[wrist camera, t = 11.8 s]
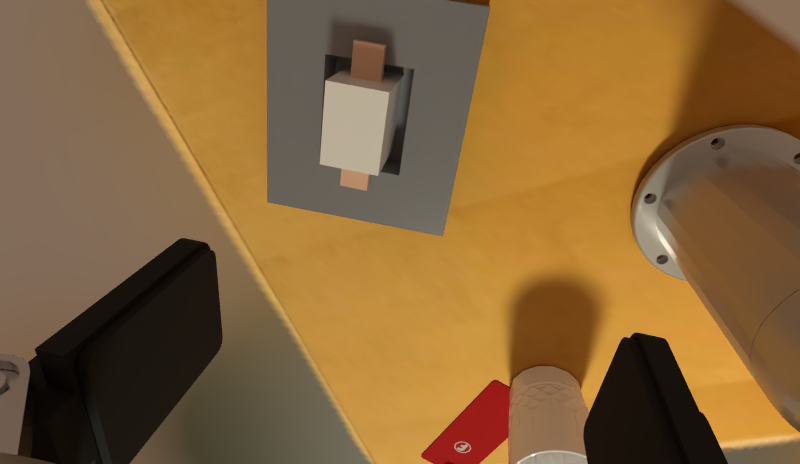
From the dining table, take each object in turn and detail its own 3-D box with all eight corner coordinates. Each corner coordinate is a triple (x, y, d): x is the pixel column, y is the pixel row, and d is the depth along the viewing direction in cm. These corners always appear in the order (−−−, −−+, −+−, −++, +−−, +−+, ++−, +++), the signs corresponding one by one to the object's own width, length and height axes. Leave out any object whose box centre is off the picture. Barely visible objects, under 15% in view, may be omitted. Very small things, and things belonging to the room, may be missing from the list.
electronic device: (494, 376, 48) (420, 453, 55) (494, 380, 47) (419, 457, 54) (542, 402, 48) (463, 475, 55) (542, 406, 48) (462, 479, 55)
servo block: (408, 41, 33) (394, 53, 28) (389, 174, 38) (374, 206, 32) (352, 31, 33) (328, 41, 28) (340, 165, 38) (317, 194, 33)
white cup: (592, 413, 47) (617, 511, 39) (514, 422, 50) (520, 516, 41) (578, 354, 44) (602, 445, 35) (495, 366, 46) (498, 455, 38)
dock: (489, 4, 32) (490, 7, 28) (446, 214, 40) (442, 236, 36) (289, -28, 33) (266, -29, 29) (285, 183, 41) (267, 202, 37)
